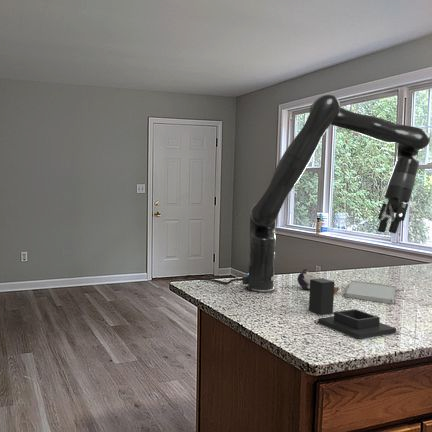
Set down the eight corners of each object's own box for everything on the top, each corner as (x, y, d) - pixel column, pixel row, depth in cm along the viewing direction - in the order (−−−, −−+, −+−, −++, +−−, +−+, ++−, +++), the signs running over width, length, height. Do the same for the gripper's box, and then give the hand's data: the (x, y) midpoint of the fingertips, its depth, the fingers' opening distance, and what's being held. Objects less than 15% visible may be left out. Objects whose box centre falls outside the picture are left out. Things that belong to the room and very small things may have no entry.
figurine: (331, 293, 154) (292, 277, 164) (330, 306, 157) (292, 289, 167) (343, 277, 159) (304, 262, 168) (342, 290, 162) (304, 275, 172)
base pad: (358, 339, 113) (359, 325, 113) (317, 322, 126) (318, 310, 126) (395, 332, 119) (396, 319, 118) (353, 317, 132) (353, 305, 131)
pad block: (320, 314, 133) (322, 282, 132) (308, 310, 138) (310, 279, 137) (332, 313, 135) (334, 281, 134) (320, 308, 140) (322, 278, 139)
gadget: (393, 303, 146) (393, 293, 146) (344, 296, 155) (345, 286, 154) (397, 290, 166) (397, 280, 165) (353, 284, 174) (354, 275, 173)
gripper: (380, 185, 157) (366, 229, 157) (399, 182, 142) (384, 229, 143) (401, 191, 156) (388, 235, 156) (422, 188, 142) (407, 236, 142)
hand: (386, 232), depth 149 cm, fingers open, 8 cm apart
